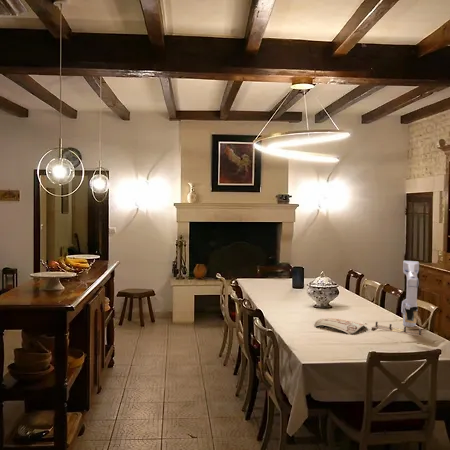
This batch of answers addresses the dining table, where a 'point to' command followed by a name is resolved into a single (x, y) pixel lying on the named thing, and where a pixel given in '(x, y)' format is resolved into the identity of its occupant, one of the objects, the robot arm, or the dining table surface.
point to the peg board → (397, 330)
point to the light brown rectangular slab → (414, 318)
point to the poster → (340, 324)
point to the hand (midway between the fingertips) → (410, 318)
